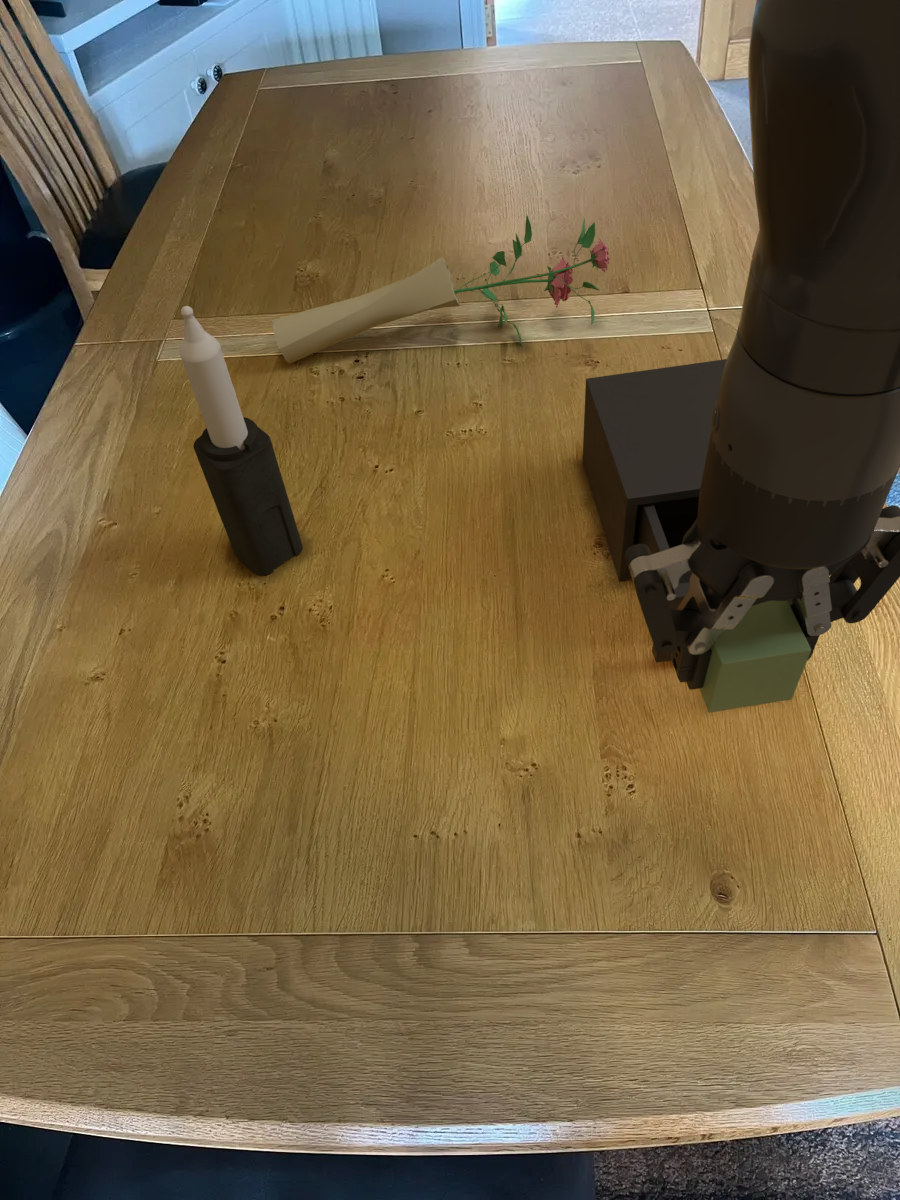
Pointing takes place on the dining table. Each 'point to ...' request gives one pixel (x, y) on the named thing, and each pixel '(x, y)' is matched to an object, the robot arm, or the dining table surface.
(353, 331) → the flower vase
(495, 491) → the dining table surface
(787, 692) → the block
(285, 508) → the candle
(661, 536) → the drawer
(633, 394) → the cabinet
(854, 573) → the robot arm
